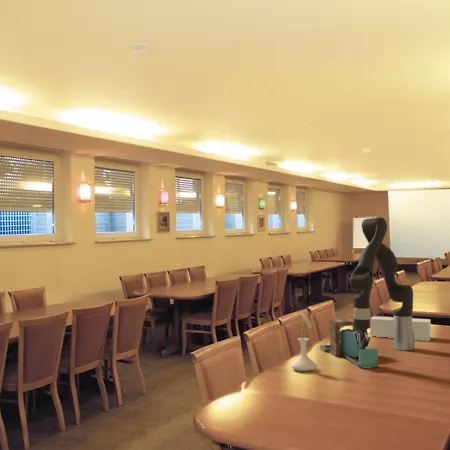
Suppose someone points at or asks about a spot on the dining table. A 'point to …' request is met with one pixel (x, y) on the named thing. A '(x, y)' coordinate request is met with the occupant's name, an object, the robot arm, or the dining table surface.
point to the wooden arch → (338, 334)
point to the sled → (365, 357)
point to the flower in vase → (304, 352)
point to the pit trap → (325, 348)
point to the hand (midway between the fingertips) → (362, 355)
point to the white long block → (386, 328)
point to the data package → (349, 343)
